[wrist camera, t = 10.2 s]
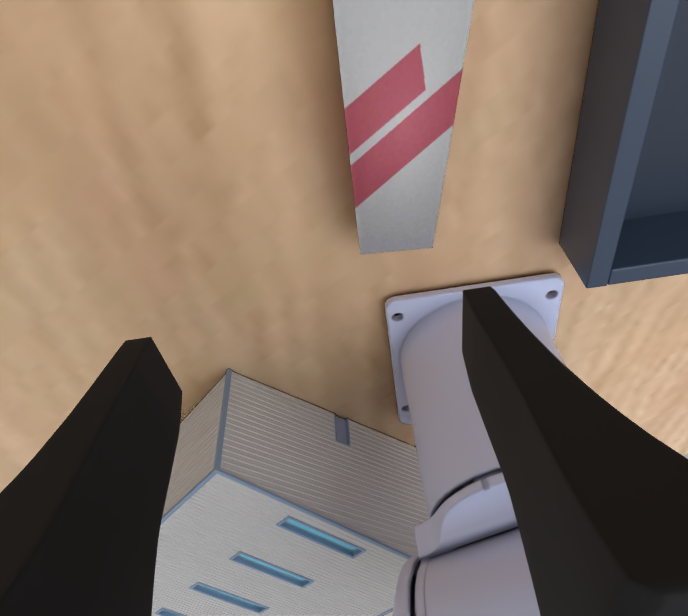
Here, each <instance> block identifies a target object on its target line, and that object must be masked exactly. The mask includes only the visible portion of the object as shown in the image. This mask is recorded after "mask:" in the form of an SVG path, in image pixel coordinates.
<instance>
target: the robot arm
mask: <svg viewBox="0 0 688 616" xmlns="http://www.w3.org/2000/svg"><path fill="white" fill-rule="evenodd" d="M563 288H564V280H563V279H562V277H561V276H560V274H557V273H549V274H542V275H535V276H529V277H522V278H515V279H508V280H501V281H495V282H488V283H481V284H474V285H468V286H461V287H454V288H447V289H440V290H434V291H427V292H420V293H413V294H406V295H400V296H394V297H391V298H389V299H388V300H387V301H386V302H385V311H386V319H387V327H388V335H389V343H390V351H391V359H392V367H393V376H394V384H395V392H396V400H397V408H398V416H399V420H400V422H402V423H405V424H410V423H412V427H413V433H414V438H415V444H416V449H417V454H418V460H419V465H420V471H421V476H422V481H423V487H424V492H425V498H426V503H427V508H428V514H429V519H428V520H426V521H425V522H423V523H421V524H418V525H416V526H415V527H414V531H415V538H416V544H417V550H418V554H417V555H414V556H413V557H411V558H410V559H408V560H407V561H406V562H405V564H404V565H403V567H402V569H401V571H400V574H399V577H398V581H397V586H396V592H395V597H394V603H393V616H688V459H686V458H685V457H684V456H682V455H681V454H679V453H678V452H676V451H675V450H673V449H671V448H670V447H668V446H667V445H665V444H664V443H662V442H661V441H659V440H658V439H656V438H655V437H653V436H652V435H650V434H649V433H647V432H646V431H645V430H643V429H642V428H641V427H639V426H638V425H637V424H635V423H634V422H632V421H631V420H630V419H628V418H627V417H626V416H624V415H623V414H622V413H620V412H619V411H618V410H617V409H615V408H614V407H613V406H611V405H610V404H609V403H608V402H606V401H605V400H604V399H603V398H601V397H600V396H599V395H598V394H597V393H595V392H594V391H593V390H592V389H591V388H590V387H588V386H587V385H586V384H585V383H584V382H583V381H582V380H580V379H579V378H578V377H577V376H576V375H575V374H574V373H573V372H572V371H570V370H569V369H568V368H567V367H566V365H565V363H564V361H563V359H562V357H561V355H560V353H559V351H558V349H557V347H556V345H555V343H554V337H555V331H556V326H557V321H558V315H559V310H560V304H561V299H562V293H563ZM550 291H553V292H551V293H548V292H550ZM547 293H548V294H547ZM396 313H401V314H400V315H397V316H395V315H394V314H396ZM181 403H182V390H181V389H180V387H179V385H178V383H177V382H176V380H175V378H174V376H173V375H172V373H171V371H170V369H169V368H168V366H167V364H166V362H165V361H164V359H163V357H162V355H161V354H160V352H159V350H158V348H157V347H156V345H155V343H154V341H153V340H152V338H151V337H147V338H141V339H134V340H127V341H125V342H124V343H123V345H122V346H121V347H120V348H119V350H118V351H117V352H116V354H115V355H114V356H113V358H112V359H111V360H110V362H109V363H108V364H107V366H106V367H105V368H104V370H103V371H102V372H101V374H100V375H99V376H98V378H97V379H96V381H95V382H94V383H93V385H92V386H91V387H90V389H89V390H88V391H87V392H86V394H85V395H84V396H83V398H82V399H81V400H80V402H79V403H78V404H77V405H76V407H75V408H74V409H73V411H72V412H71V413H70V415H69V416H68V417H67V418H66V420H65V421H64V422H63V423H62V424H61V426H60V427H59V428H58V429H57V430H56V432H55V433H54V434H53V435H52V436H51V438H50V439H49V440H48V441H47V442H46V444H45V445H44V446H43V447H42V448H41V450H40V451H39V452H38V453H37V454H36V456H35V457H34V458H33V459H32V460H31V461H30V462H29V463H28V465H27V466H26V467H25V468H24V469H23V470H22V471H21V472H20V473H19V474H18V475H17V476H16V478H15V479H14V480H13V481H12V482H11V483H10V484H9V485H8V486H7V487H6V488H5V489H4V490H3V491H2V492H1V493H0V616H152V602H153V589H154V577H155V567H156V557H157V547H158V538H159V532H160V526H161V520H162V515H163V511H164V506H165V501H166V496H167V491H168V487H169V482H170V477H171V472H172V467H173V462H174V457H175V452H176V447H177V442H178V437H179V431H180V419H181Z"/></svg>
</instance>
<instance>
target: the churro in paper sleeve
mask: <svg viewBox="0 0 688 616" xmlns="http://www.w3.org/2000/svg"><path fill="white" fill-rule="evenodd" d="M473 4H474V0H333V9H334V18H335V27H336V36H337V45H338V55H339V64H340V73H341V82H342V91H343V100H344V110H345V119H346V128H347V137H348V146H349V155H350V165H351V174H352V183H353V192H354V201H355V210H356V220H357V229H358V238H359V247H360V254H370V253H382V252H393V251H404V250H415V249H426V248H433V242H434V236H435V230H436V224H437V218H438V212H439V207H440V201H441V195H442V189H443V183H444V177H445V171H446V165H447V159H448V153H449V147H450V141H451V135H452V129H453V123H454V117H455V111H456V105H457V100H458V94H459V88H460V82H461V76H462V70H463V64H464V58H465V52H466V46H467V40H468V34H469V28H470V22H471V16H472V10H473Z"/></svg>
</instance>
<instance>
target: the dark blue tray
mask: <svg viewBox="0 0 688 616" xmlns="http://www.w3.org/2000/svg"><path fill="white" fill-rule="evenodd" d="M559 244H560V246H561V247H562V249H563V251H564V252H565V254H566V256H567V257H568V259H569V260H570V262H571V264H572V265H573V267H574V269H575V270H576V272H577V273H578V275H579V277H580V278H581V280H582V282H583V283H584V285H585V287H586V288H593V287H600V286H606V285H607V284H609V285H611V284H618V283H625V282H631V281H638V280H645V279H652V278H659V277H666V276H673V275H680V274H686V273H688V0H599V4H598V10H597V16H596V22H595V28H594V35H593V41H592V47H591V53H590V59H589V65H588V71H587V77H586V83H585V89H584V95H583V101H582V108H581V114H580V120H579V126H578V132H577V138H576V144H575V150H574V156H573V162H572V168H571V174H570V181H569V187H568V193H567V199H566V205H565V211H564V217H563V223H562V229H561V235H560V241H559Z"/></svg>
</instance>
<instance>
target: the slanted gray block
mask: <svg viewBox="0 0 688 616" xmlns="http://www.w3.org/2000/svg"><path fill="white" fill-rule="evenodd" d="M428 519H429V514H428V508H427V503H426V498H425V492H424V487H423V481H422V476H421V471H420V465H419V460H418V454H417V449H416V447H414V446H411V445H409V444H407V443H404V442H402V441H399V440H397V439H394V438H392V437H390V436H387V435H385V434H382V433H380V432H377V431H375V430H373V429H370V428H368V427H365V426H363V425H360V424H358V423H356V422H353V421H351V420H348V418H347V419H346V420H344V419H342V418H339V417H337V416H335V413H331V412H329V411H326V410H324V409H322V408H319V407H317V406H314V405H312V404H310V403H307V402H305V401H302V400H300V399H297V398H295V397H293V396H290V395H288V394H285V393H283V392H280V391H278V390H276V389H273V388H271V387H268V386H266V385H263V384H261V383H259V382H256V381H254V380H251V379H249V378H246V377H244V376H242V375H239V374H237V373H234V372H232V370H231V369H227V371H226V375H225V376H224V377H223V378H222V379H221V380H220V381H219V382H218V383H217V384H216V385H215V387H214V388H213V389H212V390H211V391H210V392H209V393H208V394H207V395H206V396H205V397H204V399H203V400H202V401H201V402H200V403H199V404H198V405H197V406H196V407H195V408H194V409H193V410H192V412H191V413H190V414H189V415H188V416H187V417H186V418H185V419H184V420H183V421H182V422H181V424H180V431H179V437H178V442H177V447H176V452H175V457H174V462H173V467H172V472H171V477H170V482H169V487H168V491H167V496H166V501H165V506H164V511H163V515H162V520H161V526H160V532H159V538H158V547H157V557H156V567H155V577H154V589H153V602H152V616H384V615H386V614H388V613H390V612H392V611H393V603H394V597H395V592H396V586H397V581H398V577H399V574H400V571H401V569H402V567H403V565H404V564H405V562H406V561H407V560H408V559H410V558H411V557H413V556H414V555H417V554H418V550H417V544H416V538H415V531H414V527H415V526H416V525H418V524H421V523H423V522H425V521H426V520H428Z"/></svg>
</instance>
